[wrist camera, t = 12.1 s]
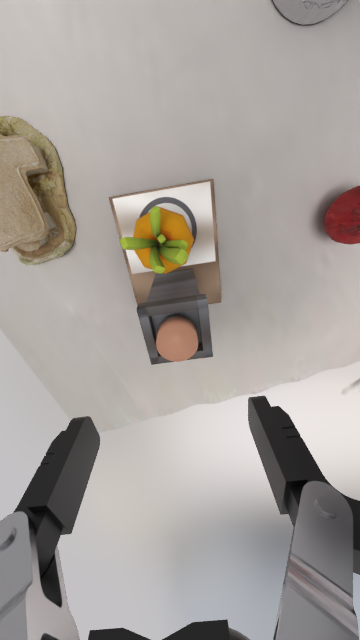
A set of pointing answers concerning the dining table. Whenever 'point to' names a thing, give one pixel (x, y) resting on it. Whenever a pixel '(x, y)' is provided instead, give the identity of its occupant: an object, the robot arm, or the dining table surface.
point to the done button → (177, 339)
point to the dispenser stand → (183, 282)
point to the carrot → (160, 240)
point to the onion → (344, 218)
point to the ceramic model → (32, 195)
